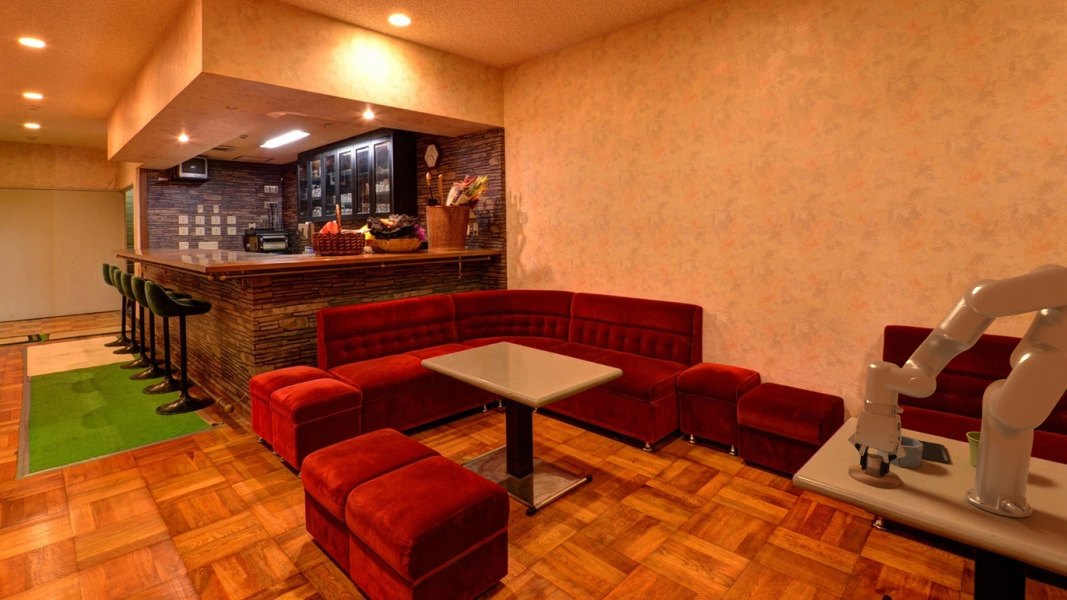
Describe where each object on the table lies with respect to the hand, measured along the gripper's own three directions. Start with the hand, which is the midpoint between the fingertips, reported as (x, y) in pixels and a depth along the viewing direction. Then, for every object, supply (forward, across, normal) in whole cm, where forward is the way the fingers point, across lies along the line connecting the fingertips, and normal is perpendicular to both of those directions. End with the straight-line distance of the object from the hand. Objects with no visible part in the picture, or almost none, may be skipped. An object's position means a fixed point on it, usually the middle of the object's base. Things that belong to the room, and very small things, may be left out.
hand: (874, 471), depth 147 cm
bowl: (+2, 0, -18) cm, 19 cm away
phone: (+2, -4, -32) cm, 33 cm away
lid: (+2, 0, 0) cm, 2 cm away
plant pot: (+2, -17, -33) cm, 37 cm away
